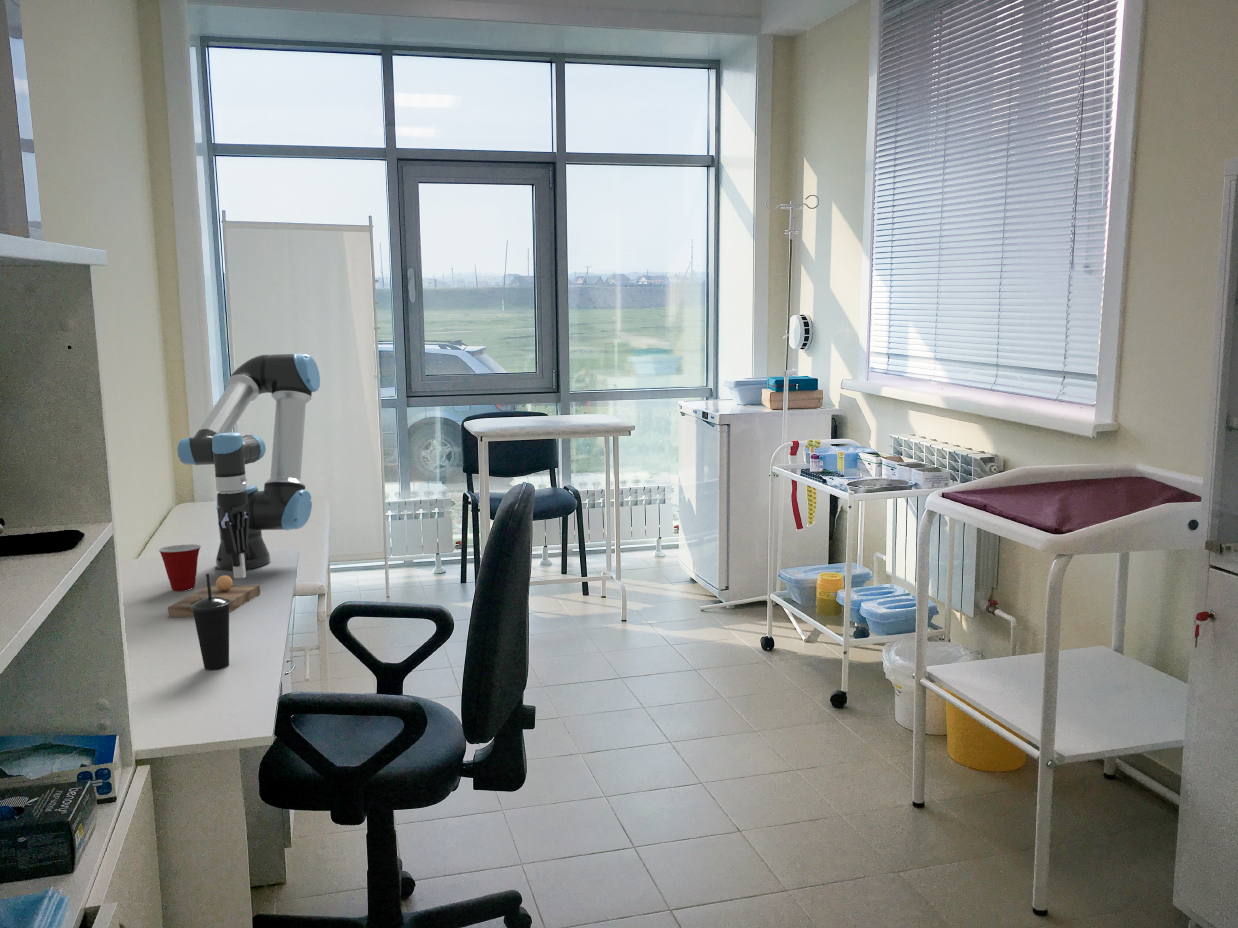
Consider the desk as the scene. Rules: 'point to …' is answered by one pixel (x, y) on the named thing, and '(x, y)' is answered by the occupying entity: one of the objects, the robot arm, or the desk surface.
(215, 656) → the drinking cup
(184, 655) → the desk surface
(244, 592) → the board
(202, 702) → the desk surface
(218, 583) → the ball
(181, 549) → the plastic cup
